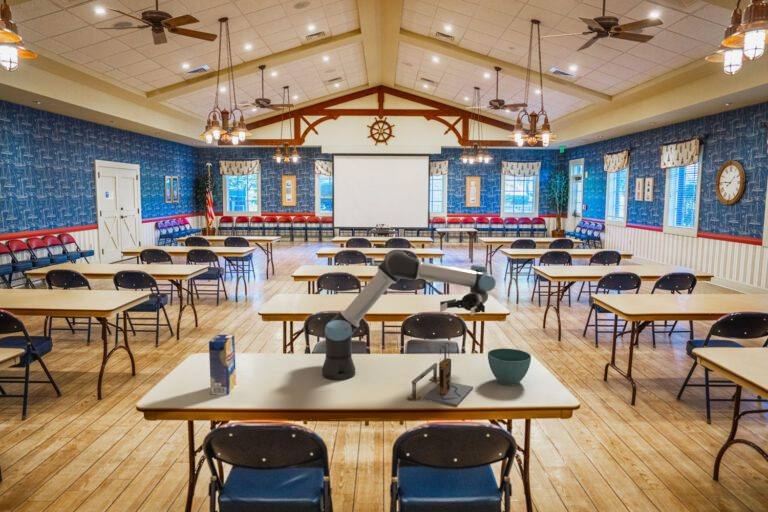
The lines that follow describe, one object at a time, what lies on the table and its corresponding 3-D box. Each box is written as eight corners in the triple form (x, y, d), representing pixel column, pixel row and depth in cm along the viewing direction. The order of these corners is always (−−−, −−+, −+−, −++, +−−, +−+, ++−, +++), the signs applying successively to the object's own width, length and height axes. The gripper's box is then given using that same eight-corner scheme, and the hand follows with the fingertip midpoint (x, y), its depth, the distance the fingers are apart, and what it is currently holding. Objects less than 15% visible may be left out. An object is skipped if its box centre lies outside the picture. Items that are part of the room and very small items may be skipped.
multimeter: (459, 402, 191) (460, 352, 189) (435, 397, 196) (435, 348, 193) (470, 389, 204) (471, 342, 202) (447, 385, 209) (448, 339, 206)
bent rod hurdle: (407, 399, 196) (407, 380, 195) (432, 378, 219) (432, 361, 218) (416, 401, 194) (416, 382, 193) (441, 380, 217) (441, 362, 216)
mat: (423, 399, 196) (423, 397, 196) (441, 382, 214) (441, 380, 214) (456, 406, 190) (456, 404, 190) (473, 388, 207) (473, 386, 207)
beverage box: (236, 384, 211) (234, 334, 208) (227, 395, 200) (225, 342, 198) (220, 384, 211) (218, 334, 209) (210, 395, 200) (208, 342, 198)
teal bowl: (478, 382, 215) (479, 354, 213) (500, 371, 228) (501, 345, 227) (517, 393, 203) (518, 364, 201) (537, 381, 216) (538, 354, 214)
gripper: (498, 312, 223) (484, 322, 204) (446, 306, 234) (428, 315, 216) (498, 295, 222) (485, 304, 203) (446, 290, 234) (428, 298, 215)
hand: (455, 310), depth 210 cm, fingers open, 13 cm apart
